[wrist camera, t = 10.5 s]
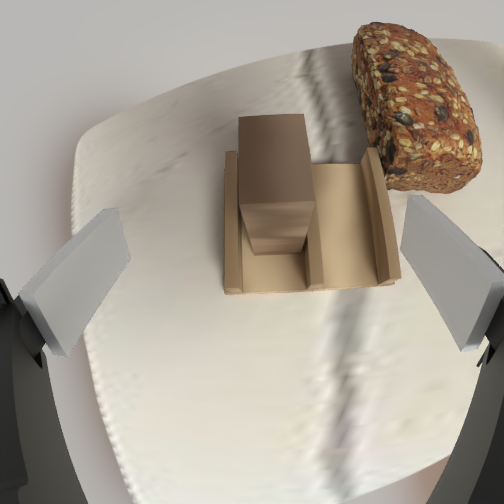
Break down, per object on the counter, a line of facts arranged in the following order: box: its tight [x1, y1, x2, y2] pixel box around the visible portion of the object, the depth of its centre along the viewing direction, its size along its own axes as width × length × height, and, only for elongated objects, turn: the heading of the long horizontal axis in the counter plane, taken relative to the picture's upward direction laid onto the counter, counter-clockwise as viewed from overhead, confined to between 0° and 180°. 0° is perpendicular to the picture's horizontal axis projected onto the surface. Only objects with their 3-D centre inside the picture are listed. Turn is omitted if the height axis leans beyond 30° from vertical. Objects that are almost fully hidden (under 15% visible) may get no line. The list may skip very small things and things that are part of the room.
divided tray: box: [224, 147, 401, 295], centre depth 26 cm, size 15×12×4 cm
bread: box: [351, 22, 482, 194], centre depth 25 cm, size 19×11×10 cm, turn 179°
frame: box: [239, 114, 315, 256], centre depth 22 cm, size 4×6×11 cm
